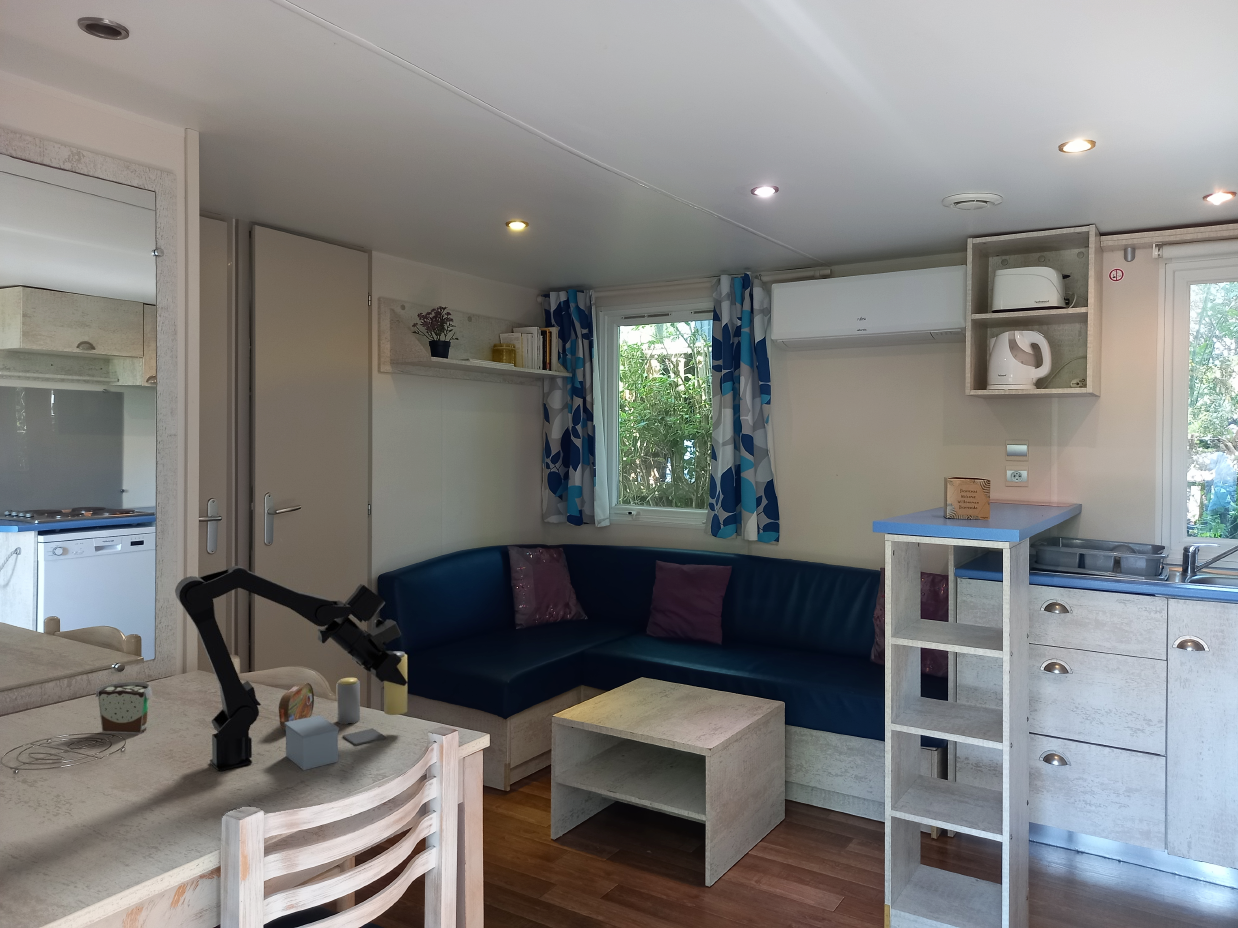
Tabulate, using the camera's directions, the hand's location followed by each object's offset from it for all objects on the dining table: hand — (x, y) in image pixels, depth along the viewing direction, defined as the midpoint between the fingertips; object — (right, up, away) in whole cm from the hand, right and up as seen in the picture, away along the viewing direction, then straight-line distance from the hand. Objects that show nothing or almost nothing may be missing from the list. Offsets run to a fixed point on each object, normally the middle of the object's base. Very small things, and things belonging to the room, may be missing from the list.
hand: (401, 681), depth 193 cm
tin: (-26, -11, +5) cm, 29 cm away
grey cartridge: (-14, -11, +7) cm, 19 cm away
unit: (-14, -12, -17) cm, 25 cm away
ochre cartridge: (-1, -7, -1) cm, 7 cm away
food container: (-62, -11, +2) cm, 63 cm away
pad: (-7, -11, -4) cm, 14 cm away
